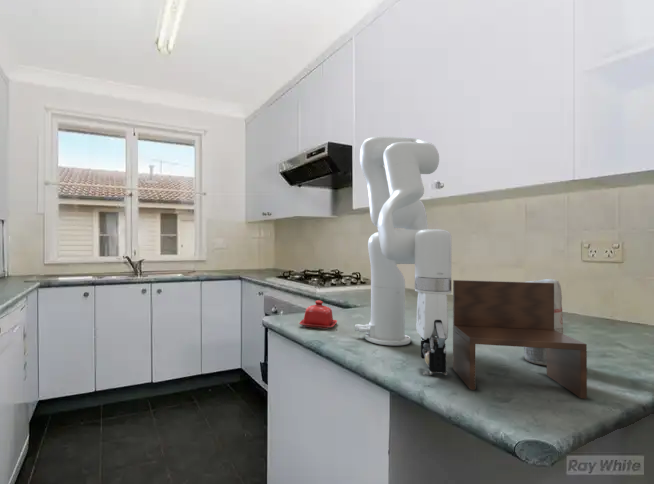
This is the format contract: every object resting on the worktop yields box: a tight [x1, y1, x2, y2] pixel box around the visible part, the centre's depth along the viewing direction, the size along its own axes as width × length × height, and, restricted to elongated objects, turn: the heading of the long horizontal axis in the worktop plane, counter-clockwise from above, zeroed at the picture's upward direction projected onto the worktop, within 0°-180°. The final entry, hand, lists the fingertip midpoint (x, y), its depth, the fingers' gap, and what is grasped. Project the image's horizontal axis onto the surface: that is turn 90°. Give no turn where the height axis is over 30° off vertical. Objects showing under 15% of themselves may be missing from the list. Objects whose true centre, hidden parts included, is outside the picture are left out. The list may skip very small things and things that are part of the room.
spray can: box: [523, 278, 564, 366], centre depth 90 cm, size 8×8×20 cm
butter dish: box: [299, 299, 338, 330], centre depth 125 cm, size 12×12×8 cm
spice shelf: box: [452, 279, 588, 399], centre depth 76 cm, size 20×12×20 cm, turn 79°
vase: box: [422, 343, 449, 376], centre depth 82 cm, size 5×5×6 cm
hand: (432, 364), depth 82 cm, fingers open, 8 cm apart
